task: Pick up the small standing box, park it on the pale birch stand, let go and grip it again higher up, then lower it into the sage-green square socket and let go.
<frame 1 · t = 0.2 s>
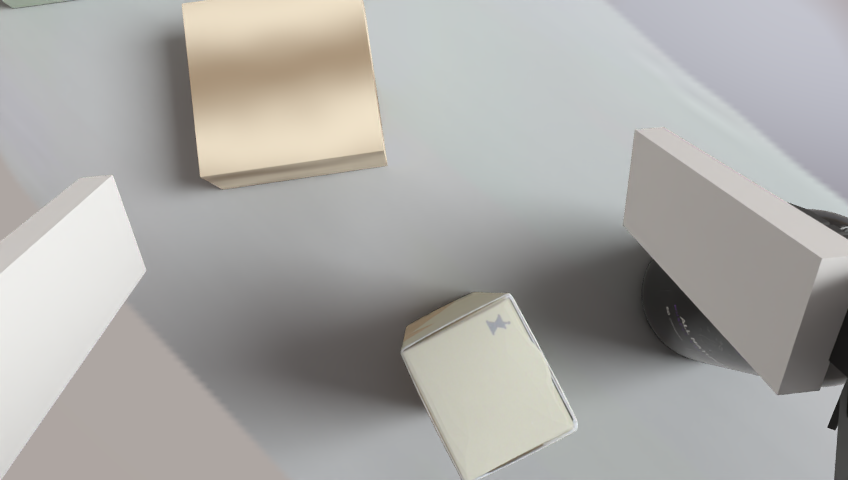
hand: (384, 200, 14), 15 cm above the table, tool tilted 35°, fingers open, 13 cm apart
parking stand: (295, 98, 30), on the table
supplement bottle: (700, 297, 29), on the table
box: (462, 352, 29), on the table
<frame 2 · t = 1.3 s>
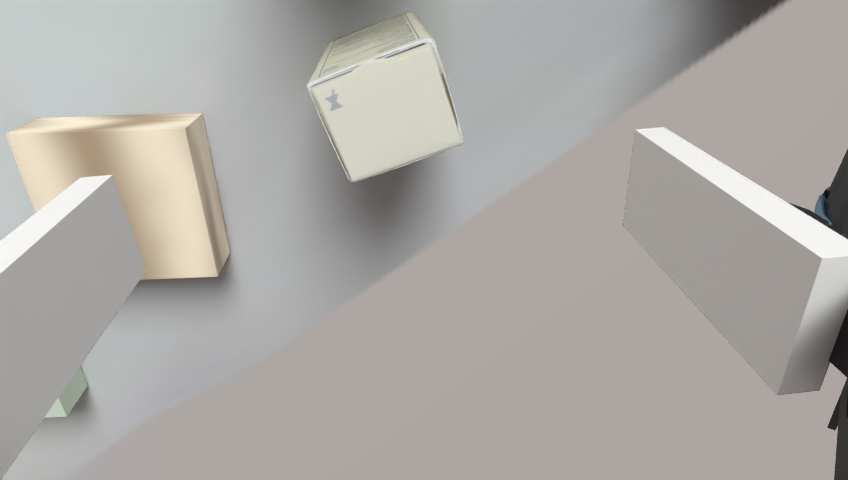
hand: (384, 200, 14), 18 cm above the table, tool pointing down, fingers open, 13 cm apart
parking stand: (141, 189, 33), on the table
box: (385, 62, 31), on the table
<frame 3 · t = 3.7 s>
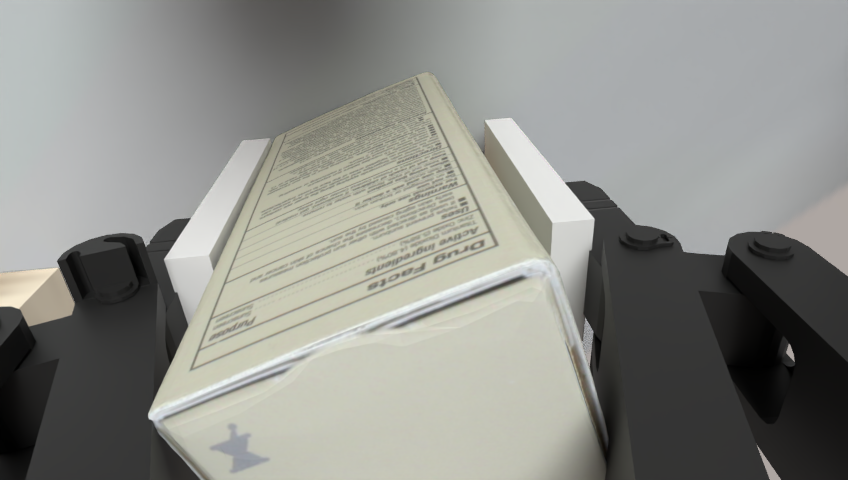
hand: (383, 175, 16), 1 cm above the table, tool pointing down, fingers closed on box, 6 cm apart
box: (383, 161, 17), on the table, touching gripper
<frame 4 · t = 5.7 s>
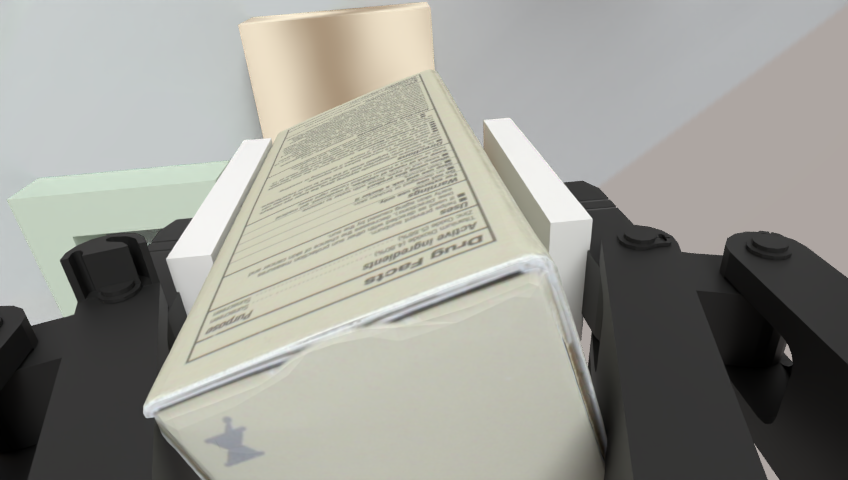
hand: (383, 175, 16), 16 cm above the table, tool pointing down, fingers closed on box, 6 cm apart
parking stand: (351, 97, 30), on the table
socket: (165, 258, 34), on the table
box: (386, 158, 17), point 15 cm above the table, touching gripper
when the fingers open (5 cm above the table, at t = 8.0 s): box drops 1 cm, resting on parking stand.
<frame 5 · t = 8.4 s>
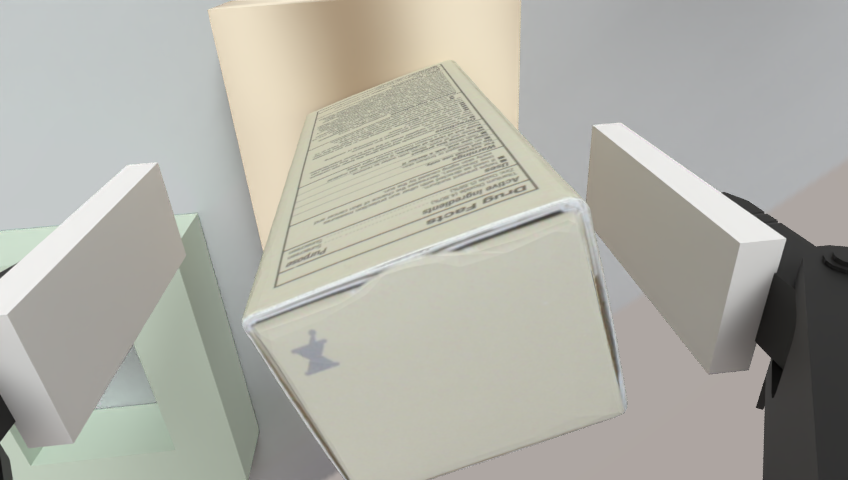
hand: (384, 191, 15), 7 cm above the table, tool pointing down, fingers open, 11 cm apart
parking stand: (380, 122, 20), on the table
socket: (105, 347, 24), on the table
box: (405, 142, 18), point 3 cm above the table, touching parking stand
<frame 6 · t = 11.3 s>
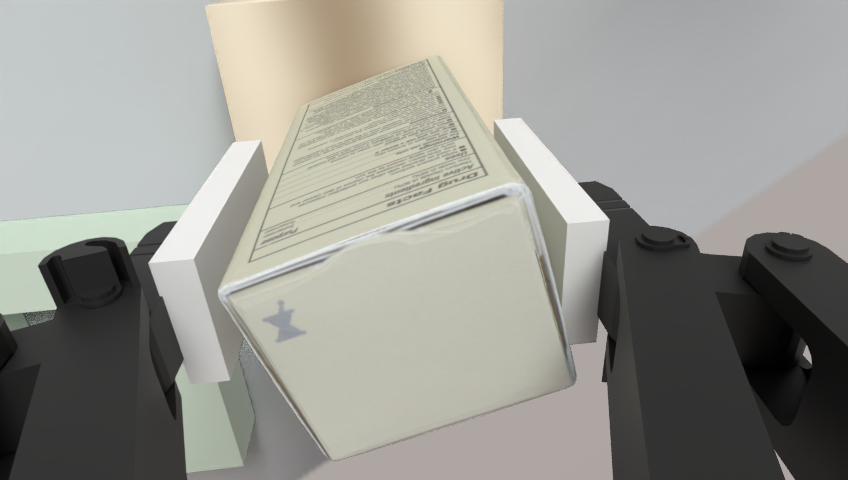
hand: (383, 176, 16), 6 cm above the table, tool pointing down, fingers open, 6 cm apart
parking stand: (371, 115, 21), on the table
socket: (105, 335, 25), on the table
box: (393, 134, 19), point 3 cm above the table, touching gripper, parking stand
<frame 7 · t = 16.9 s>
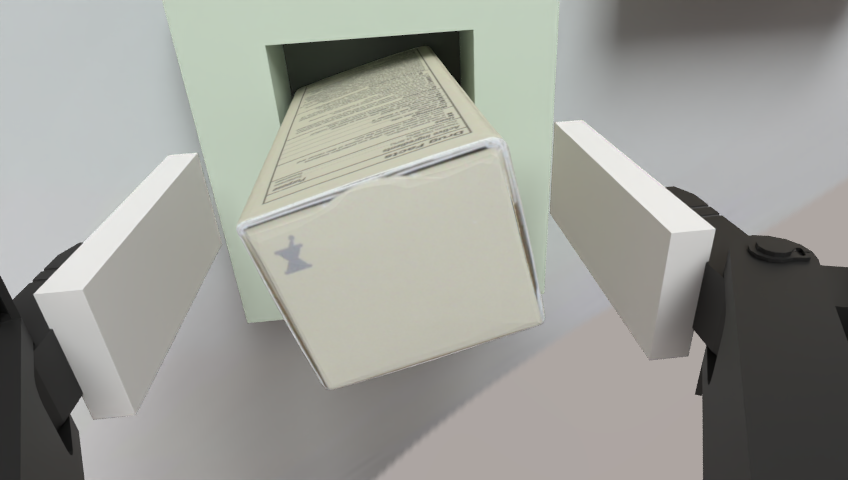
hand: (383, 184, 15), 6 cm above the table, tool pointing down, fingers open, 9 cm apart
socket: (380, 126, 20), on the table
box: (384, 118, 20), resting in socket
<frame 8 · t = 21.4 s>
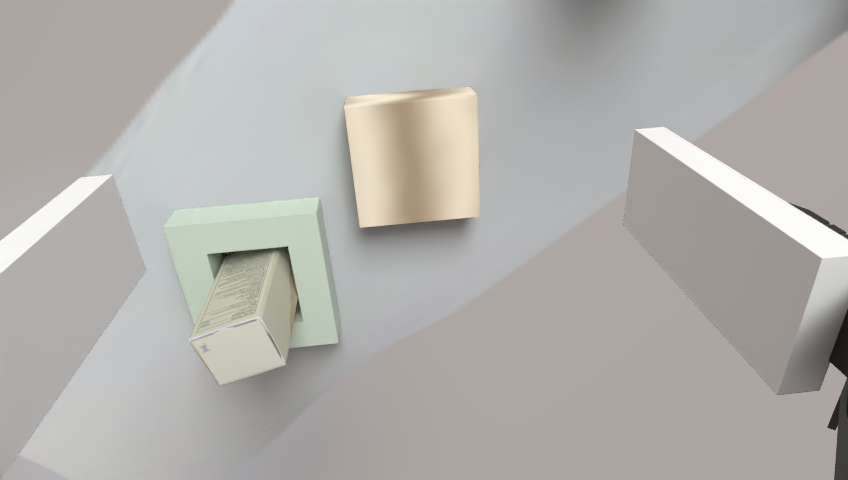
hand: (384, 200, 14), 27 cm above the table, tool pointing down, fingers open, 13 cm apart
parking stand: (413, 151, 42), on the table
socket: (263, 269, 45), on the table
box: (265, 265, 45), resting in socket
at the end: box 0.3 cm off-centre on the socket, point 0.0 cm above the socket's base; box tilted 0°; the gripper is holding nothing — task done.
